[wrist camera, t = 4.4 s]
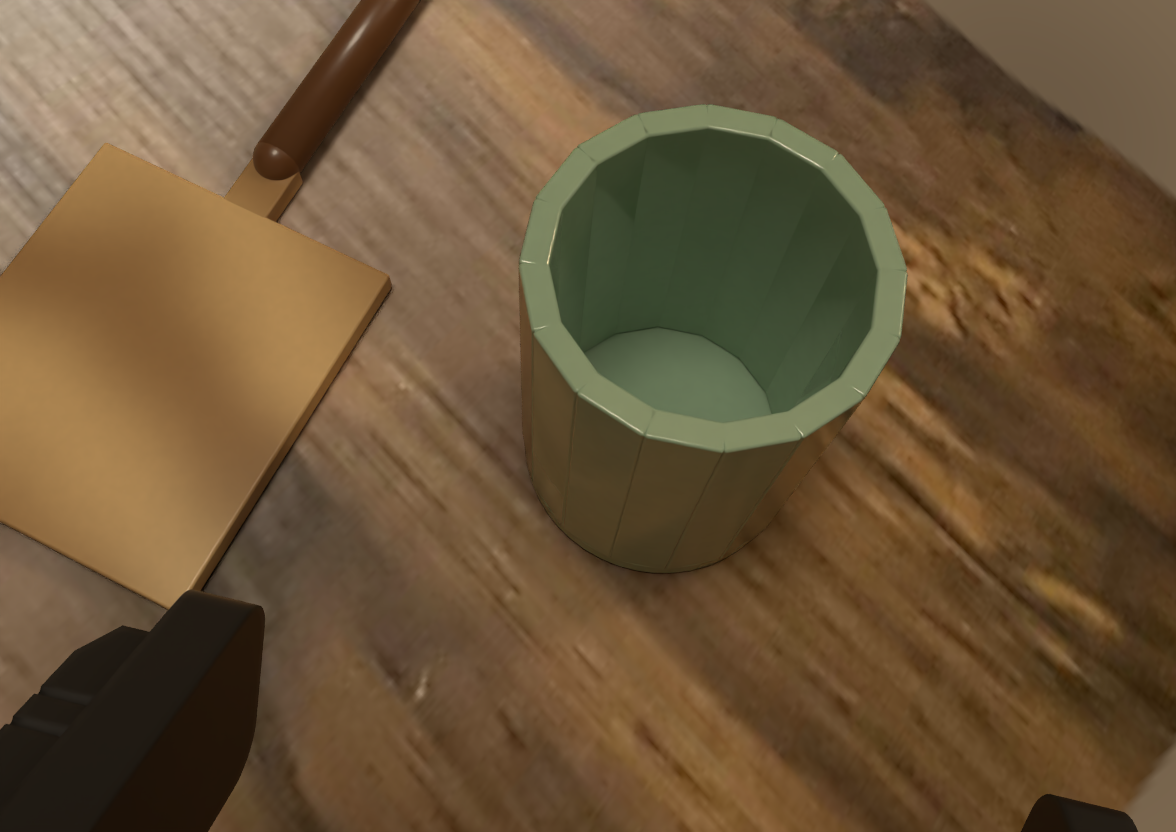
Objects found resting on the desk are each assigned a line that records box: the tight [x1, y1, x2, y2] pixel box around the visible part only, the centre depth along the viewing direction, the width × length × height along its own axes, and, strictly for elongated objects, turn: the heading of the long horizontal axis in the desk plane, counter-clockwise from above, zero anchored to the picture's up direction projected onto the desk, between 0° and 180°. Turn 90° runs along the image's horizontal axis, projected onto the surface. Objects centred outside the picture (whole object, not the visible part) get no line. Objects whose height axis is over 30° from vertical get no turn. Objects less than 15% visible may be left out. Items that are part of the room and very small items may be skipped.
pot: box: [518, 104, 908, 573], centre depth 22 cm, size 6×6×8 cm
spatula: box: [0, 0, 420, 610], centre depth 27 cm, size 22×8×1 cm, turn 154°
